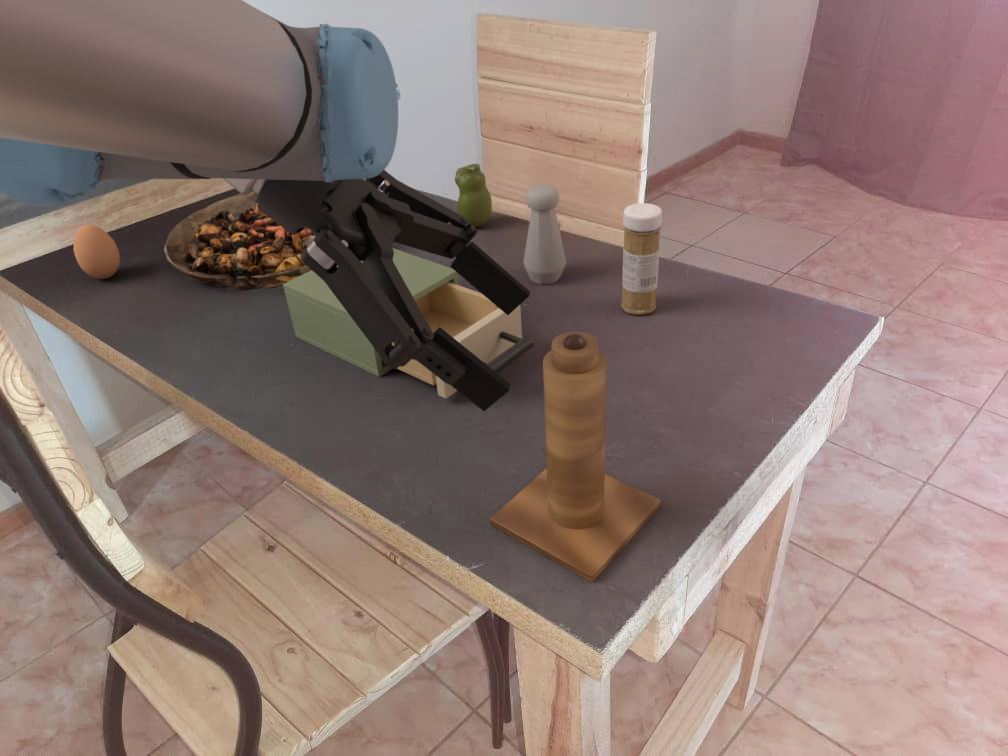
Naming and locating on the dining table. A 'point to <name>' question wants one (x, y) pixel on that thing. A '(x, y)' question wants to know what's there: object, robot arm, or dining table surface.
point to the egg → (96, 252)
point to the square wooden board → (577, 546)
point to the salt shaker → (543, 236)
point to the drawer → (470, 330)
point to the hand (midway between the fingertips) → (509, 347)
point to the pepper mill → (575, 429)
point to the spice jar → (640, 257)
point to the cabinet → (332, 325)
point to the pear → (473, 195)
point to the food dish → (237, 246)
